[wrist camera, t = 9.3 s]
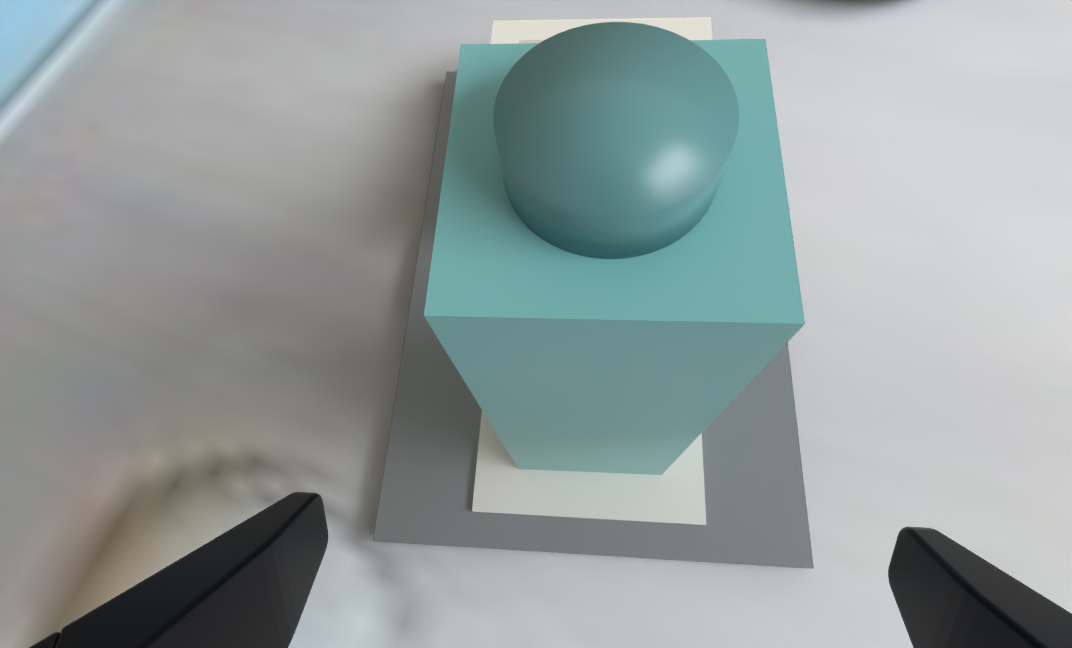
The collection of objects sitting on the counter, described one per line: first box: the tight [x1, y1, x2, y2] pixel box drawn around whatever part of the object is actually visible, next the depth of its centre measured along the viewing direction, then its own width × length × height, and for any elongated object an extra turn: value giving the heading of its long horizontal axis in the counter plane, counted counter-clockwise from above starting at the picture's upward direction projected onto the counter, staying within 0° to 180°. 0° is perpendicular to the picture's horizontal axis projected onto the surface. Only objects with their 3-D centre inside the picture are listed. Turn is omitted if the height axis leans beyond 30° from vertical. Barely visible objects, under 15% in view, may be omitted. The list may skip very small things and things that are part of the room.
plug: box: [424, 22, 805, 475], centre depth 13 cm, size 4×4×13 cm
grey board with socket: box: [373, 17, 813, 568], centre depth 19 cm, size 19×13×4 cm
